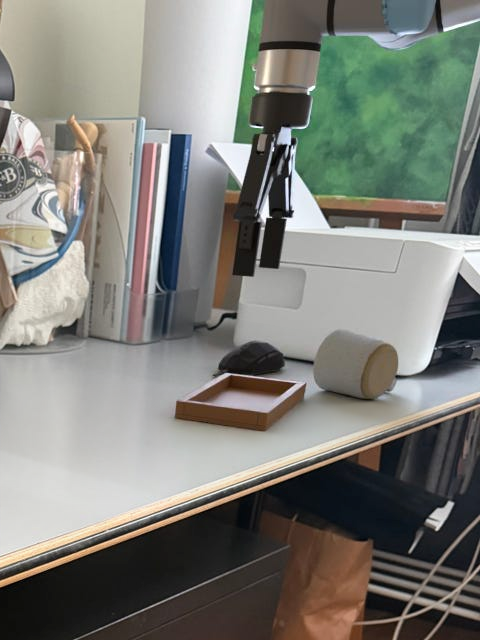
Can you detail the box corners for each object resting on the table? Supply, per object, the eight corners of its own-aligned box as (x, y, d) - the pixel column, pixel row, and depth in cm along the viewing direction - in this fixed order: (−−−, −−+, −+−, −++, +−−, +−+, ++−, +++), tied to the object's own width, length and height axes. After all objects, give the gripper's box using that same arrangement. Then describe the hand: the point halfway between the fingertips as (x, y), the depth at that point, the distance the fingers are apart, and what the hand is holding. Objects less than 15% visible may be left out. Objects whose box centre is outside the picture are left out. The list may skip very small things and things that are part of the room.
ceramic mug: (360, 404, 116) (374, 340, 113) (307, 391, 122) (318, 330, 119) (409, 396, 122) (424, 335, 119) (356, 384, 128) (368, 326, 124)
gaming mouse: (195, 373, 131) (198, 344, 130) (255, 362, 140) (260, 334, 138) (232, 381, 127) (236, 351, 125) (292, 369, 136) (297, 340, 134)
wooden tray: (303, 398, 119) (306, 382, 118) (265, 431, 103) (267, 413, 102) (223, 388, 123) (225, 372, 122) (174, 417, 108) (176, 400, 107)
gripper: (277, 99, 129) (253, 263, 139) (225, 84, 110) (202, 276, 119) (332, 99, 126) (304, 267, 136) (289, 84, 107) (260, 281, 116)
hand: (256, 272), depth 128 cm, fingers open, 13 cm apart
